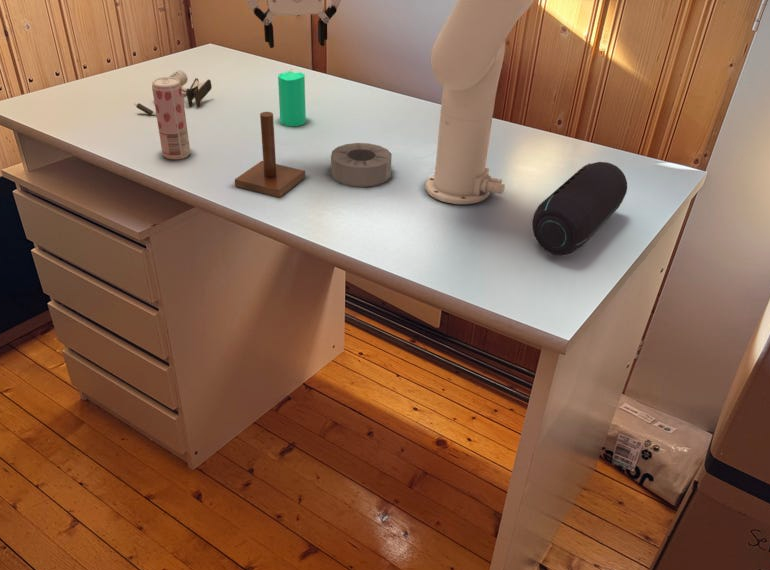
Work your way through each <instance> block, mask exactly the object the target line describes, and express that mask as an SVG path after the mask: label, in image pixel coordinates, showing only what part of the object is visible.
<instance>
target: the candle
mask: <svg viewBox="0 0 770 570" xmlns="http://www.w3.org/2000/svg"><path fill="white" fill-rule="evenodd" d="M305 76H306V75H305V73H303V72H294V71H293V70H290V71H285V72H282V73H278V75H277V83H278V99H279V100H278V104H279V105H278V106H279V122H280V124H281V125H283V126H287V127H300V126H303V125H305V124H306V123H307V121H306V119H307V118H306V117H307V116H306V81H305V80H306V79H305V78H306V77H305Z"/></svg>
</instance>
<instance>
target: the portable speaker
mask: <svg viewBox="0 0 770 570" xmlns="http://www.w3.org/2000/svg"><path fill="white" fill-rule="evenodd" d="M627 192H628V181H627V178H626V176H625V173H624V172H623V171H622V170H621V168H620V167H618V166H617V165H615V164H613V163H610V162H607V161H597V162H592V163H587V164H585V165H584V166H582V167H581V168H580V169H578V170H577V171H576V172H575V173H574V174H573V175H572V176H570V177H569V178H568V179H567V180H566V181H564V182H563V184H561V185H560V186H558V188H557V189H556V190H554V191H553V192H552V193H551V194H550V195H549V196H547V198H545V199H544V200H543V201H542V202H541V203H539V204H538V206H537V208H536V210H535V211H534V214H533V216H532V220H531V226H532V232H533V236H534V238H535V240H536V242H537V243H538V245H539V246H540V247H541V248H542V249H543V250H544V251H546V252H547V253H549V254H551V255H554V256H568V255H571V254H572V253H575V251H577V250H579V249H580V248H582V247H583V246H584V245H585V244H587V242H588V241H589V240H590V239H591V238H592V237H593V236H594V235H595V233H597V232H598V230H599V229H600V228H601V227H602V226H603V225H604V224H605V223H606V222H607V221H608V219H610V217H612V216H613V214H614V213H615V212H616V211H617V210H618V209H619V207H620V206H621V205H622V203H623V201H624V199H625V197H626V195H627Z"/></svg>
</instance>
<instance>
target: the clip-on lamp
mask: <svg viewBox="0 0 770 570" xmlns="http://www.w3.org/2000/svg"><path fill="white" fill-rule="evenodd" d="M168 77H173V78H177V79H179V81H180V84H181V88H182V95H183V97H186V98H187V103H188V107H192V106H193V100H194V99H195V100H194V101H195V106H196V107H198V108H200V107H201V101H202V100H203V99H204V98H205V97H206V96H207V95H208V94H209V92H210V91H211V90H212V87H213V86H212V85H213V84H212V82H211V81H212V80H211V79H207V80H206V81H203V82H201V83H200V82H199V78H198V77H197V78H194V80H193V82H192V84H191V86H190V87H189V88H188V87H187V88H186V87H183V86H185V85H186V84H187V83H188V81H189V80H188V75H187V74H186V72H185V71H183V70H180V69H179V70H176V71H175V72H173V73H171V74H170V75H169V76H168ZM151 91H152V92H153V90H152V89H151ZM133 105H135V108H137V109H138V110H140V111H142V112H144V113H145V114H147V115H149V116H152V115H153V116H156V113H155V112H154V110H152V109H150V108H148V107H147V106H146V105H145V106H144V105H143V104H142V103H140V102H138V103H136V102H134V103H133Z"/></svg>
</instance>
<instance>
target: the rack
mask: <svg viewBox="0 0 770 570" xmlns="http://www.w3.org/2000/svg"><path fill="white" fill-rule="evenodd" d="M259 116H260V117H259V118H260V120H259V121H260V133H261V134H260V135H261V148H262V149H261V150H262V160H260V161H259V162H258V163H256V164H255V165H253V166H252V167H251V168H249V169H247V170H246V171H245V172H243V173H242V174H240V175H238V176H237V177H236V178H234V187H236V188H240V189H244V190H248V191H253V192H256V193H259V194H265V195H268V196H273V197H276V198H281V197H282V196H284V195H285V194H286V193H287V192H289V191H290V190H292V189H293V188H294V187H295V186H296V185H298V184H299V183H300V182H301V181H303V180H304V179H306V170H304V169H299V168H297V167H296V168H295V167H291V166H287V165H282V164H278V163H277V159H276V158H277V157H276V142H275V141H276V140H275V123H274V122H275V120H274V113H273V112H271V111H263V112H260V115H259Z"/></svg>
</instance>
